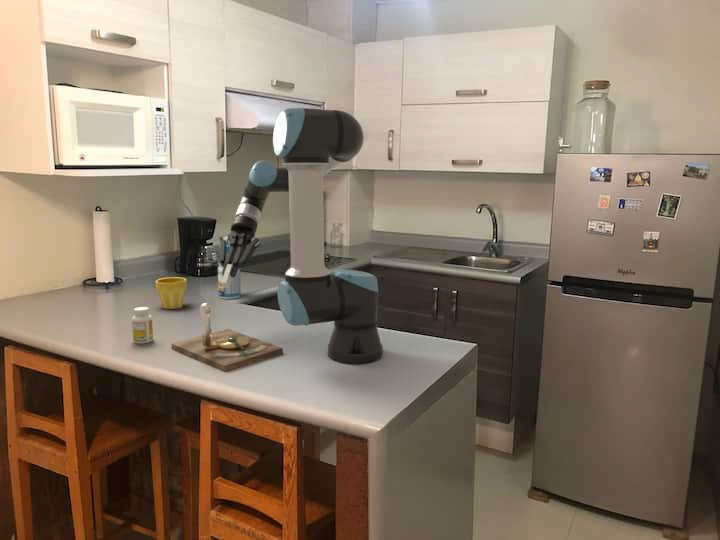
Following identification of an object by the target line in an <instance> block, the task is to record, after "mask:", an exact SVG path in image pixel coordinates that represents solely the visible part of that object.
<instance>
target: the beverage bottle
mask: <svg viewBox="0 0 720 540" xmlns="http://www.w3.org/2000/svg"><path fill="white" fill-rule="evenodd" d="M218 248H219V249H218V251H219V252H218V253H219V254H220V244H219V246H218ZM229 248H230V243H228V244H227V254H228V251H229ZM235 254H236V253H235ZM226 257H227V255H226ZM234 257H235V256H234ZM219 259H220V257H219V258H218V259H217V265H218V267H217V279H218V281H217V282H218V297H219V298H220V299H223V300H233V299H238V298H240V297H241V295H242V292H241V267H240V268H239V269H238V270H237V273H236V276H235V277H232V280H231V283H230V287H229V288H224V286H223V285H222V283H221V282H222V279H223V275H222V271H223V268H224V267H223V266H222V265H221V263H220V261H219ZM233 261H234V259H233ZM232 265H233V263H232Z"/></svg>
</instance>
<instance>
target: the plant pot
mask: <svg viewBox="0 0 720 540" xmlns="http://www.w3.org/2000/svg"><path fill="white" fill-rule="evenodd" d="M187 284H188V282H187V279H186V278H185V277H176V276H175V277H173V276H172V277H163V278H159V279H156V281H155V289H156V291H157V292H158V295H159V298H160V299H159V300H160V301H161V306H162V308H163V309H166V310H173V309H174V310H176V309H180V308H182V307H183V305H184V299H185V293H186V289H188V288H187V287H188V285H187Z"/></svg>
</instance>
